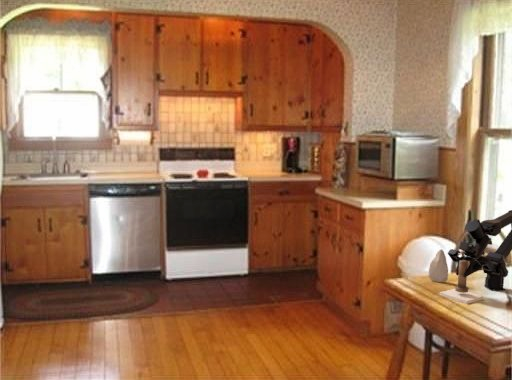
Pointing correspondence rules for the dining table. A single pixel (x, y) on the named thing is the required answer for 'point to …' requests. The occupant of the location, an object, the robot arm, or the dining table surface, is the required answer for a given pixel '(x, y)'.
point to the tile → (461, 296)
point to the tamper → (462, 277)
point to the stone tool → (438, 268)
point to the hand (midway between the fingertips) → (460, 275)
